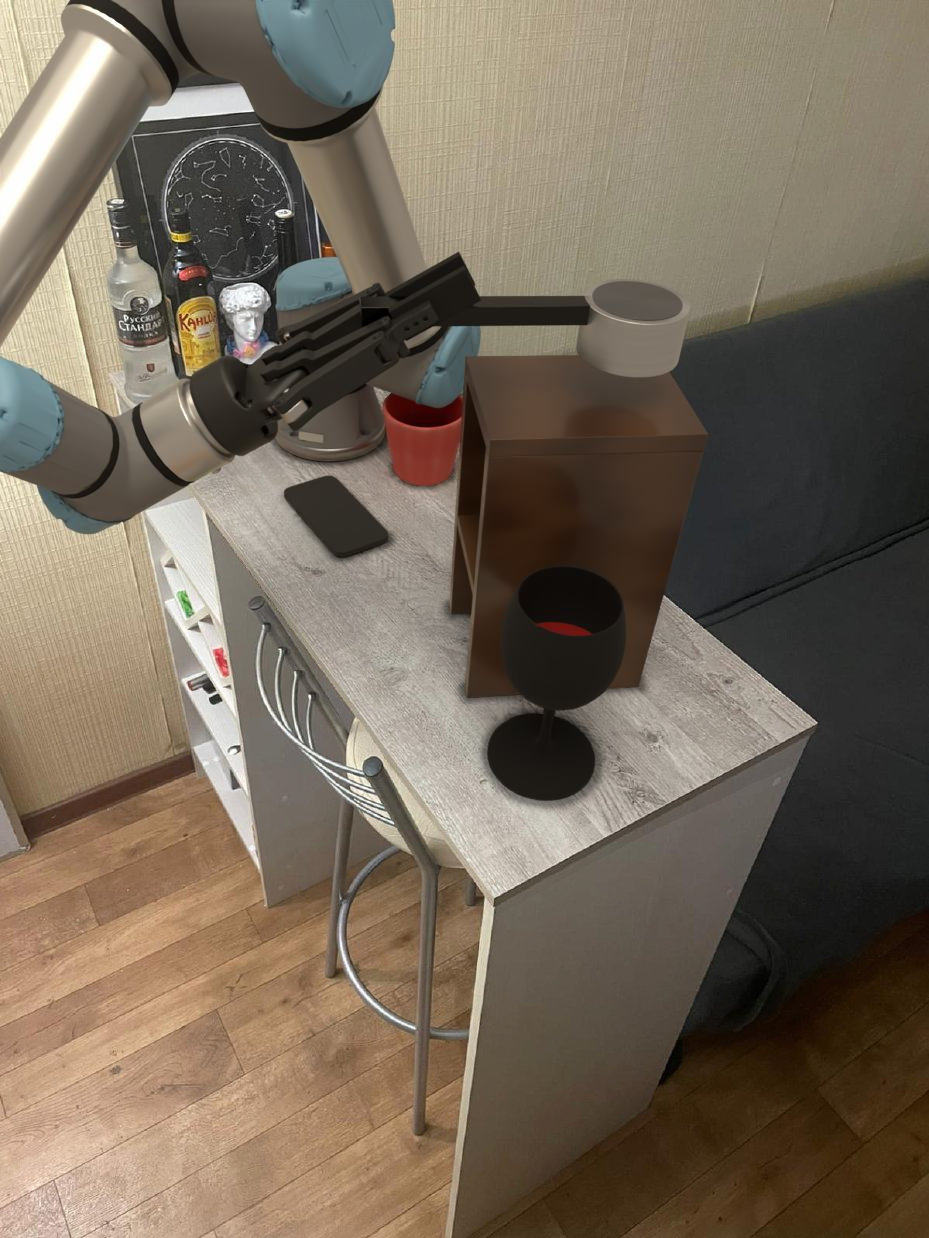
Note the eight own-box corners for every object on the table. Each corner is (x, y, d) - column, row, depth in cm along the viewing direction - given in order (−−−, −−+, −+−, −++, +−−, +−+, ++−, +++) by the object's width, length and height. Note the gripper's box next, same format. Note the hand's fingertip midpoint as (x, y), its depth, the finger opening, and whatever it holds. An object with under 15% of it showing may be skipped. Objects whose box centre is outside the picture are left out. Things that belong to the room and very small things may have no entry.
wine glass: (589, 811, 82) (630, 655, 69) (477, 788, 83) (495, 630, 70) (600, 726, 90) (638, 570, 76) (497, 706, 91) (516, 549, 77)
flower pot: (479, 478, 121) (485, 413, 114) (410, 502, 116) (411, 436, 109) (435, 440, 127) (438, 377, 120) (367, 462, 122) (366, 397, 115)
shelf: (466, 698, 92) (490, 439, 71) (449, 605, 102) (465, 356, 81) (638, 687, 94) (708, 434, 74) (604, 597, 104) (658, 354, 84)
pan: (364, 382, 69) (363, 325, 66) (358, 332, 76) (357, 278, 72) (692, 377, 73) (705, 323, 70) (660, 329, 79) (672, 277, 76)
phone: (337, 555, 106) (280, 489, 114) (337, 560, 106) (280, 494, 115) (392, 535, 109) (332, 473, 118) (392, 541, 109) (332, 478, 118)
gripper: (245, 405, 82) (476, 277, 77) (238, 503, 71) (507, 361, 66) (191, 338, 77) (435, 196, 72) (176, 432, 66) (461, 273, 61)
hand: (469, 276), depth 69 cm, fingers closed on pan, 2 cm apart
